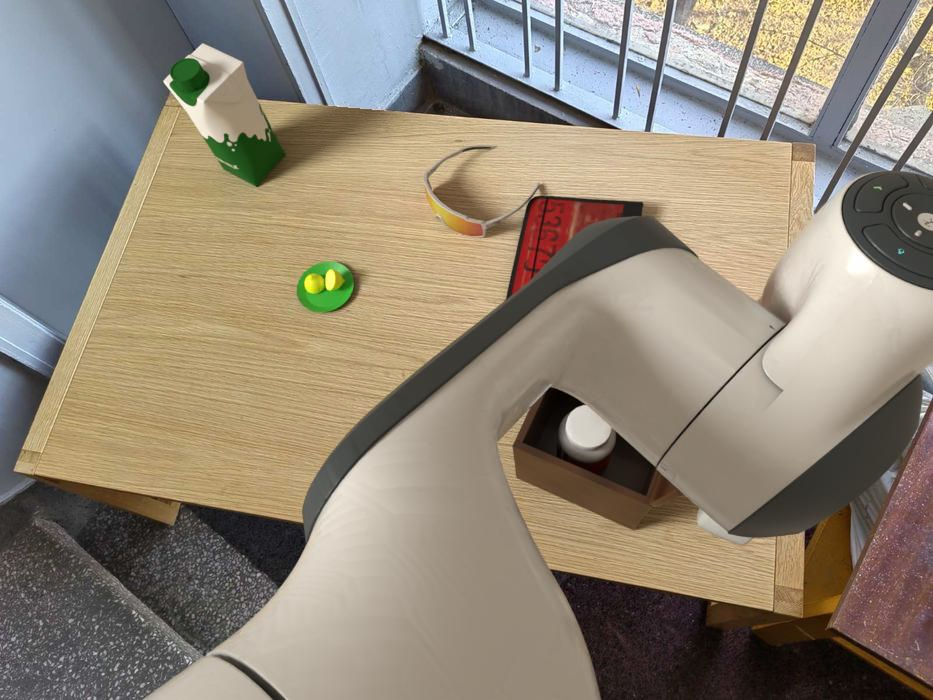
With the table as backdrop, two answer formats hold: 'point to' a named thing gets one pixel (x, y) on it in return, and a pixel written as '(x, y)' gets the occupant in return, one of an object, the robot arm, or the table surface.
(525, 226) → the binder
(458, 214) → the sunglasses
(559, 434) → the pill bottle
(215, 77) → the soya milk
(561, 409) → the chest
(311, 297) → the plate with lemons
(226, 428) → the table surface
